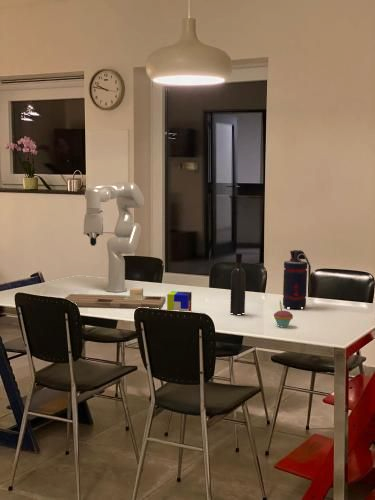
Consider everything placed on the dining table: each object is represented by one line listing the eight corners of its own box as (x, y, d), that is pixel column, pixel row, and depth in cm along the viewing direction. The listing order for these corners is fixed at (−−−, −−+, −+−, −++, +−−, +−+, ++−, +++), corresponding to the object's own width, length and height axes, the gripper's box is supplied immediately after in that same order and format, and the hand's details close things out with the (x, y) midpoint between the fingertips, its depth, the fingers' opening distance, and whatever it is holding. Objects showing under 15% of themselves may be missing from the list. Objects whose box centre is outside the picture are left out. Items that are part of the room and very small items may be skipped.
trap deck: (70, 298, 366) (70, 293, 365) (165, 301, 362) (165, 296, 362) (59, 306, 342) (59, 301, 341) (160, 309, 338) (160, 304, 338)
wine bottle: (229, 314, 329) (230, 253, 326) (236, 312, 333) (238, 252, 330) (238, 315, 325) (239, 254, 322) (245, 314, 329) (247, 253, 326)
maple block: (132, 297, 359) (132, 287, 358) (143, 297, 358) (143, 288, 358) (129, 298, 353) (129, 289, 352) (141, 299, 352) (141, 289, 352)
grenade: (284, 309, 343) (286, 251, 340) (281, 305, 355) (283, 249, 352) (311, 310, 343) (313, 252, 340) (307, 306, 354) (309, 249, 351)
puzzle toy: (187, 315, 324) (187, 295, 323) (167, 314, 326) (167, 294, 325) (191, 312, 334) (191, 292, 333) (171, 310, 336) (171, 291, 335)
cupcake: (270, 326, 302) (271, 300, 301) (278, 323, 309) (279, 297, 308) (287, 329, 298) (288, 302, 297) (295, 325, 305) (296, 299, 304)
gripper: (108, 211, 365) (108, 245, 367) (81, 211, 366) (81, 244, 368) (105, 212, 358) (105, 246, 360) (78, 211, 359) (78, 245, 361)
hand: (93, 245), depth 364 cm, fingers closed
